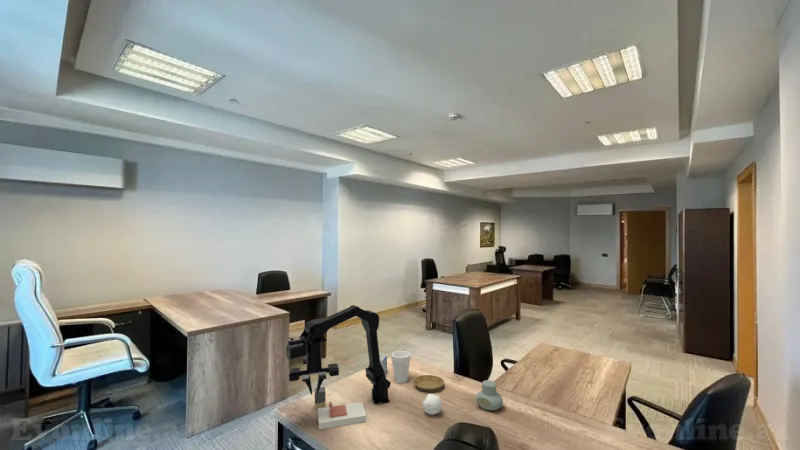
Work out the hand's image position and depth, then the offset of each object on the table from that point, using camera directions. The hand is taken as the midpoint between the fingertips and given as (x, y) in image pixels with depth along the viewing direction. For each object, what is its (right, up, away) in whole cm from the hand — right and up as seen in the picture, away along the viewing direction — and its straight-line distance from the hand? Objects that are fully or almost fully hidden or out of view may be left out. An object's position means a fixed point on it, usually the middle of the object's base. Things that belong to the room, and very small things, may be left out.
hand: (314, 393), depth 131 cm
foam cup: (+34, -12, +36) cm, 51 cm away
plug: (-1, -11, +12) cm, 17 cm away
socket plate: (+10, -11, +3) cm, 15 cm away
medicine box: (+24, -12, +44) cm, 51 cm away
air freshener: (+71, -11, +10) cm, 73 cm away
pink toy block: (+9, -8, +2) cm, 12 cm away
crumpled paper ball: (+47, -11, +5) cm, 48 cm away
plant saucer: (+47, -12, +29) cm, 57 cm away
